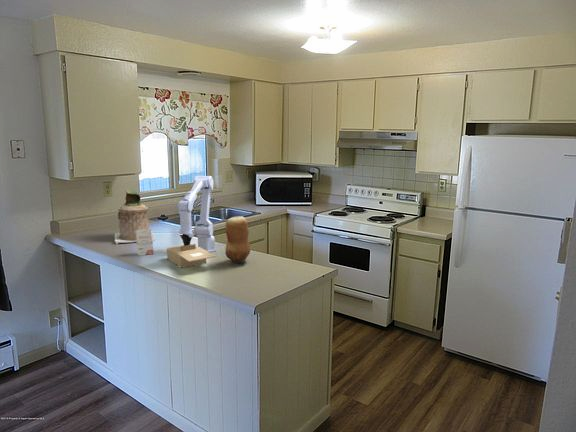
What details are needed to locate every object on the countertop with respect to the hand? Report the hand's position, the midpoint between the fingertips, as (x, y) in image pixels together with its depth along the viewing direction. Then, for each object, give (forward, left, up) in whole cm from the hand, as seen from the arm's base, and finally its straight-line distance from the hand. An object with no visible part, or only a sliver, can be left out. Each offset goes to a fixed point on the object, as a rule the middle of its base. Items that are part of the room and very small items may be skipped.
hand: (187, 247), depth 229 cm
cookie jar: (+9, -67, -8) cm, 68 cm away
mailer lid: (0, +10, -1) cm, 10 cm away
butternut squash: (-22, +16, -8) cm, 29 cm away
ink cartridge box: (+14, -28, -8) cm, 32 cm away
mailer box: (0, -2, -8) cm, 8 cm away
